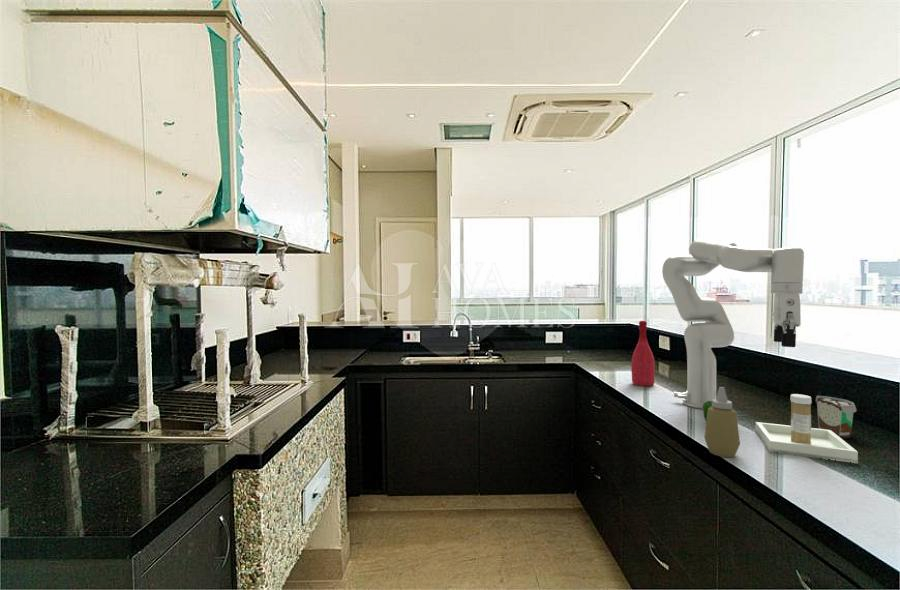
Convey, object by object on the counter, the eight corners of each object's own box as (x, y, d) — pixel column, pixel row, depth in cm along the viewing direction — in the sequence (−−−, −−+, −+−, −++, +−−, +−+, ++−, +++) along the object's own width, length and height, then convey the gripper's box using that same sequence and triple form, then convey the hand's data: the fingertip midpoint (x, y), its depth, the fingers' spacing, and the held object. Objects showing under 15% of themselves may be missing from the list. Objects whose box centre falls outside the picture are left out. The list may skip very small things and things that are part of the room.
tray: (770, 451, 113) (770, 440, 113) (755, 431, 129) (755, 421, 129) (857, 463, 105) (857, 451, 105) (830, 440, 121) (830, 430, 121)
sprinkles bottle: (794, 438, 120) (794, 392, 120) (814, 443, 116) (814, 396, 116) (787, 441, 118) (787, 394, 118) (807, 446, 114) (807, 398, 114)
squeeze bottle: (697, 448, 116) (697, 384, 115) (724, 447, 116) (724, 383, 116) (718, 460, 107) (718, 391, 107) (747, 459, 108) (747, 390, 108)
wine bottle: (658, 386, 189) (658, 321, 188) (637, 386, 189) (636, 321, 189) (648, 382, 199) (648, 319, 198) (628, 382, 199) (627, 320, 198)
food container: (868, 441, 120) (868, 406, 120) (843, 439, 121) (843, 405, 121) (837, 427, 132) (837, 396, 132) (815, 426, 133) (815, 395, 133)
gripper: (811, 289, 116) (808, 350, 117) (794, 287, 131) (791, 341, 132) (777, 289, 120) (775, 347, 120) (764, 287, 135) (763, 339, 136)
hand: (784, 344), depth 126 cm, fingers open, 9 cm apart
